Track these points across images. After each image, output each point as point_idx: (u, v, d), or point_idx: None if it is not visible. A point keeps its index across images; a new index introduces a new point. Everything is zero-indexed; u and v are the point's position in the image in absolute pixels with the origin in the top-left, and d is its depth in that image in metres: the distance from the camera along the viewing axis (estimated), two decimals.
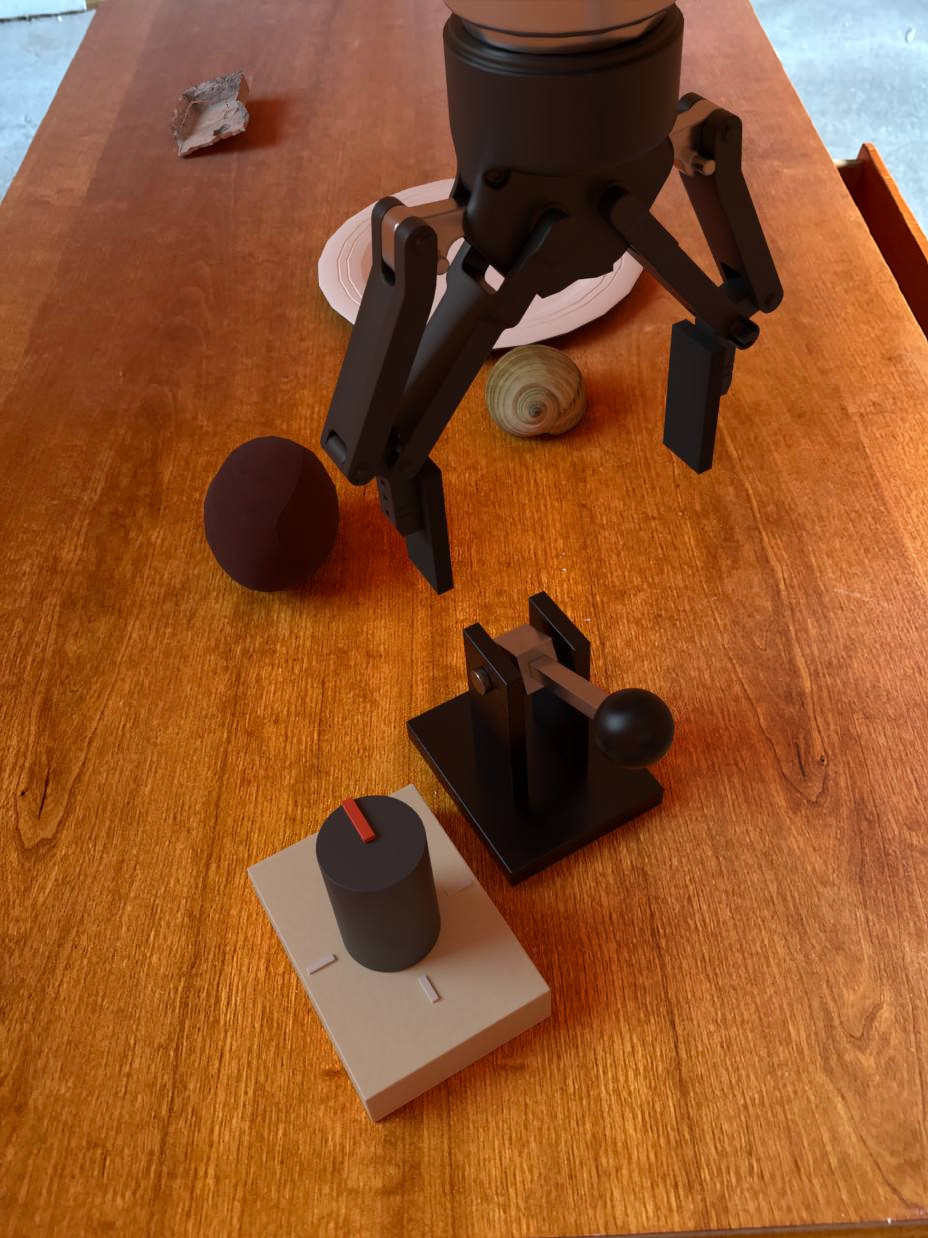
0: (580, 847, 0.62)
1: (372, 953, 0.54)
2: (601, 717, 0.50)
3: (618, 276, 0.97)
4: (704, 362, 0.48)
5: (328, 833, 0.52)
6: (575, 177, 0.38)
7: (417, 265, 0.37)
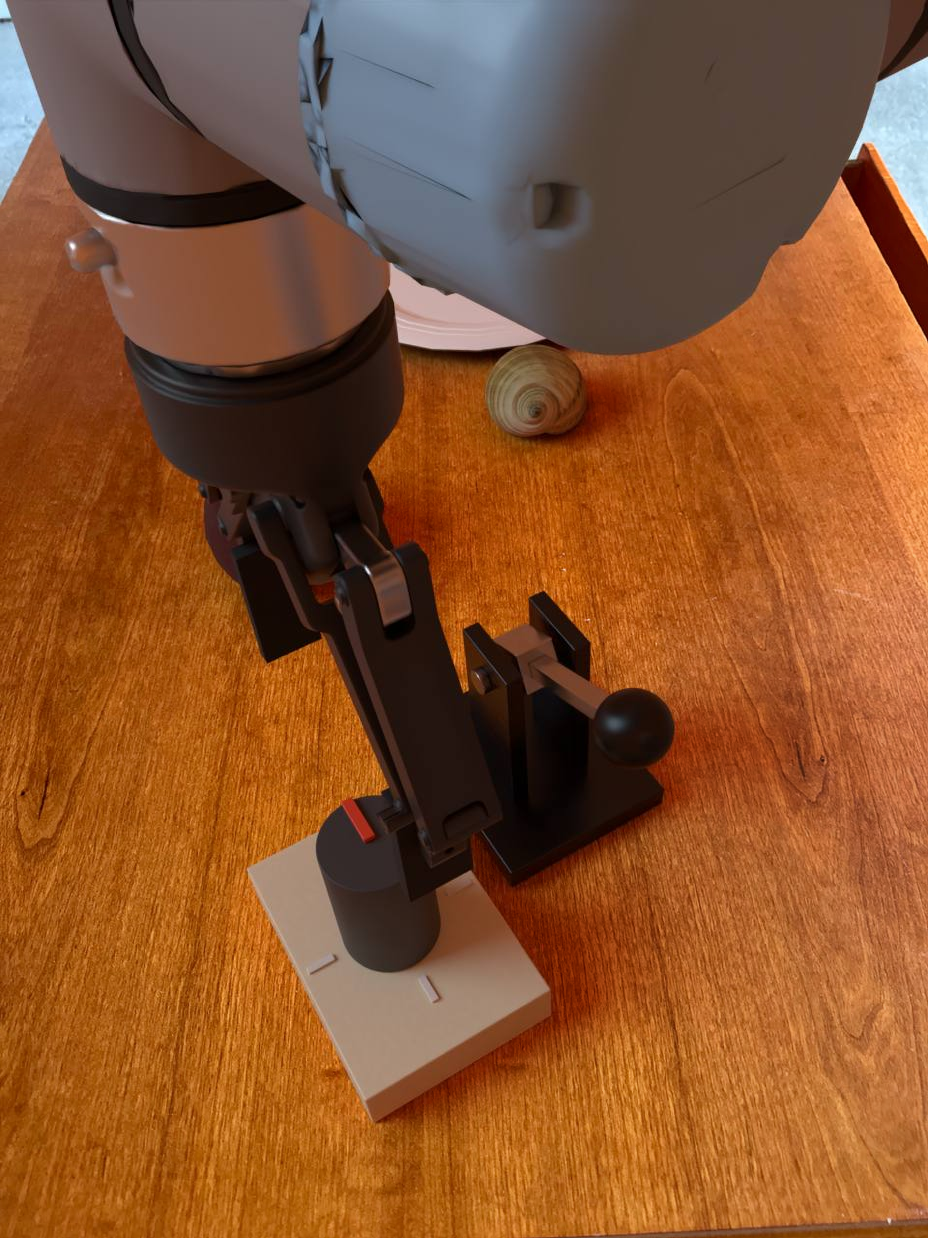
0: (580, 847, 0.62)
1: (372, 953, 0.54)
2: (601, 717, 0.50)
3: None
4: None
5: (328, 833, 0.52)
6: None
7: None
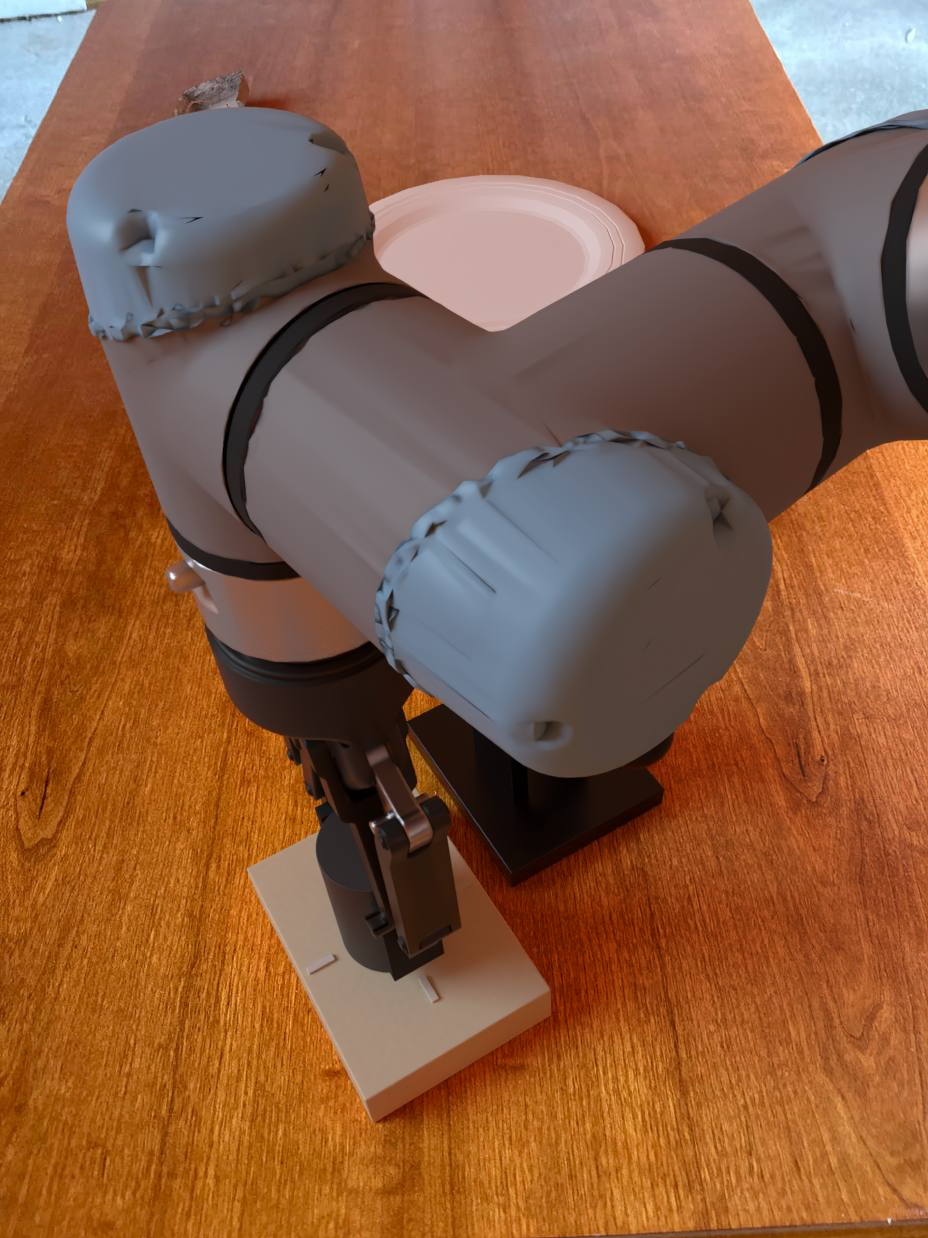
0: (580, 847, 0.62)
1: (372, 953, 0.54)
2: None
3: None
4: None
5: (328, 833, 0.52)
6: None
7: None
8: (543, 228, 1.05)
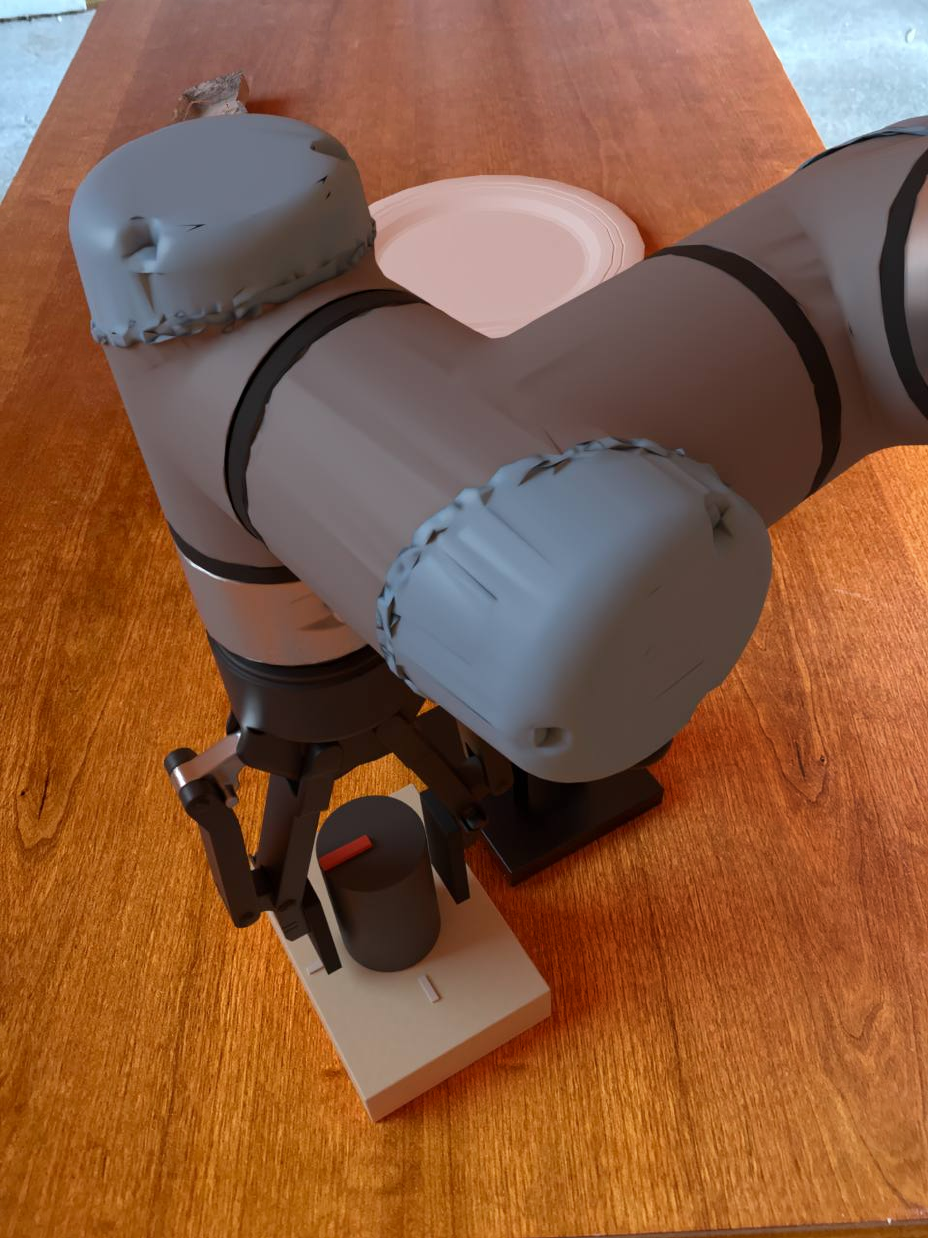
0: (580, 847, 0.62)
1: (435, 915, 0.55)
2: None
3: None
4: None
5: (356, 881, 0.50)
6: None
7: None
8: (543, 228, 1.05)
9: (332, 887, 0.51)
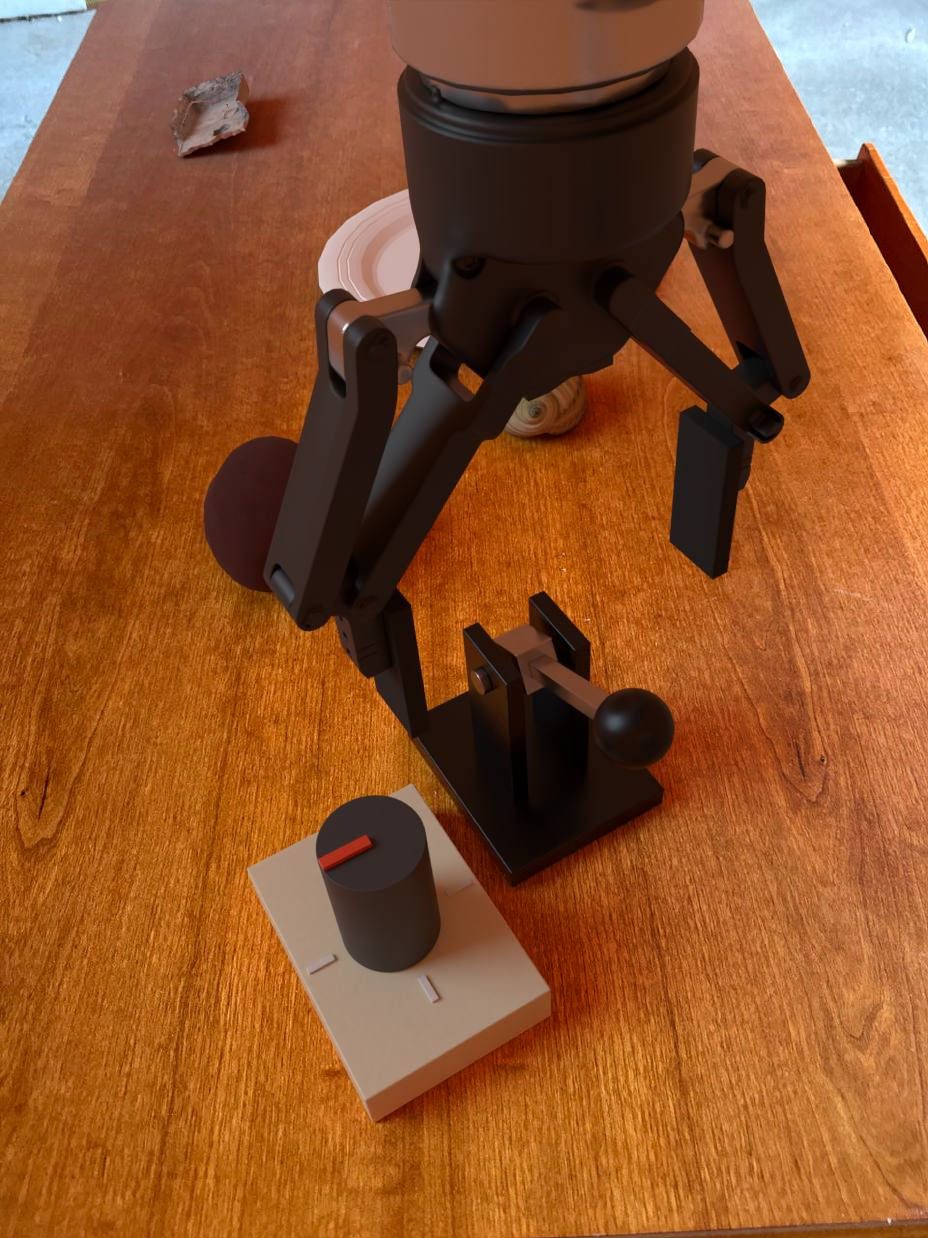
0: (580, 847, 0.62)
1: (435, 915, 0.55)
2: (601, 717, 0.50)
3: None
4: None
5: (356, 881, 0.50)
6: None
7: None
8: None
9: (332, 887, 0.51)
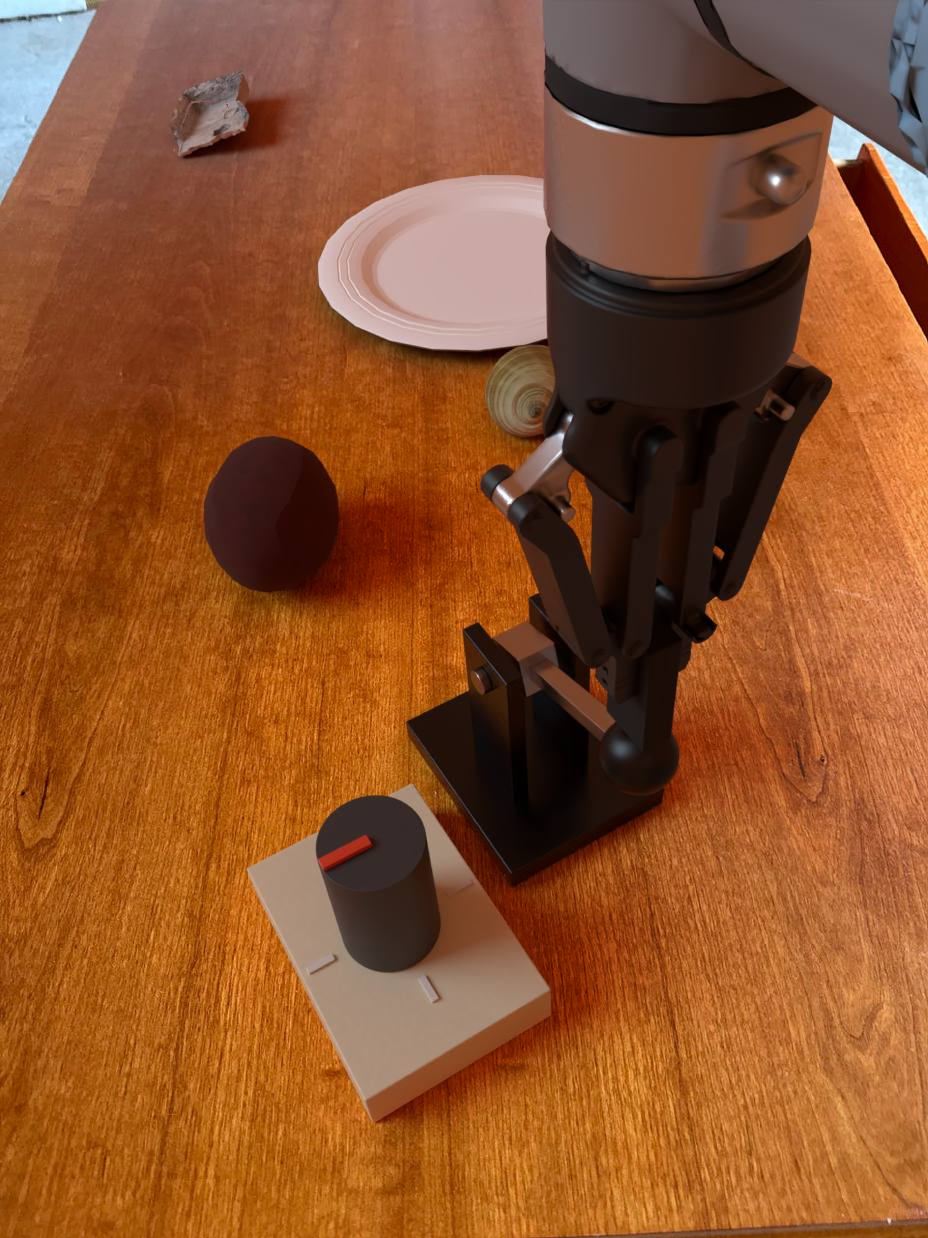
0: (580, 847, 0.62)
1: (435, 915, 0.55)
2: (609, 745, 0.50)
3: None
4: None
5: (356, 881, 0.50)
6: None
7: None
8: (543, 228, 1.05)
9: (332, 887, 0.51)
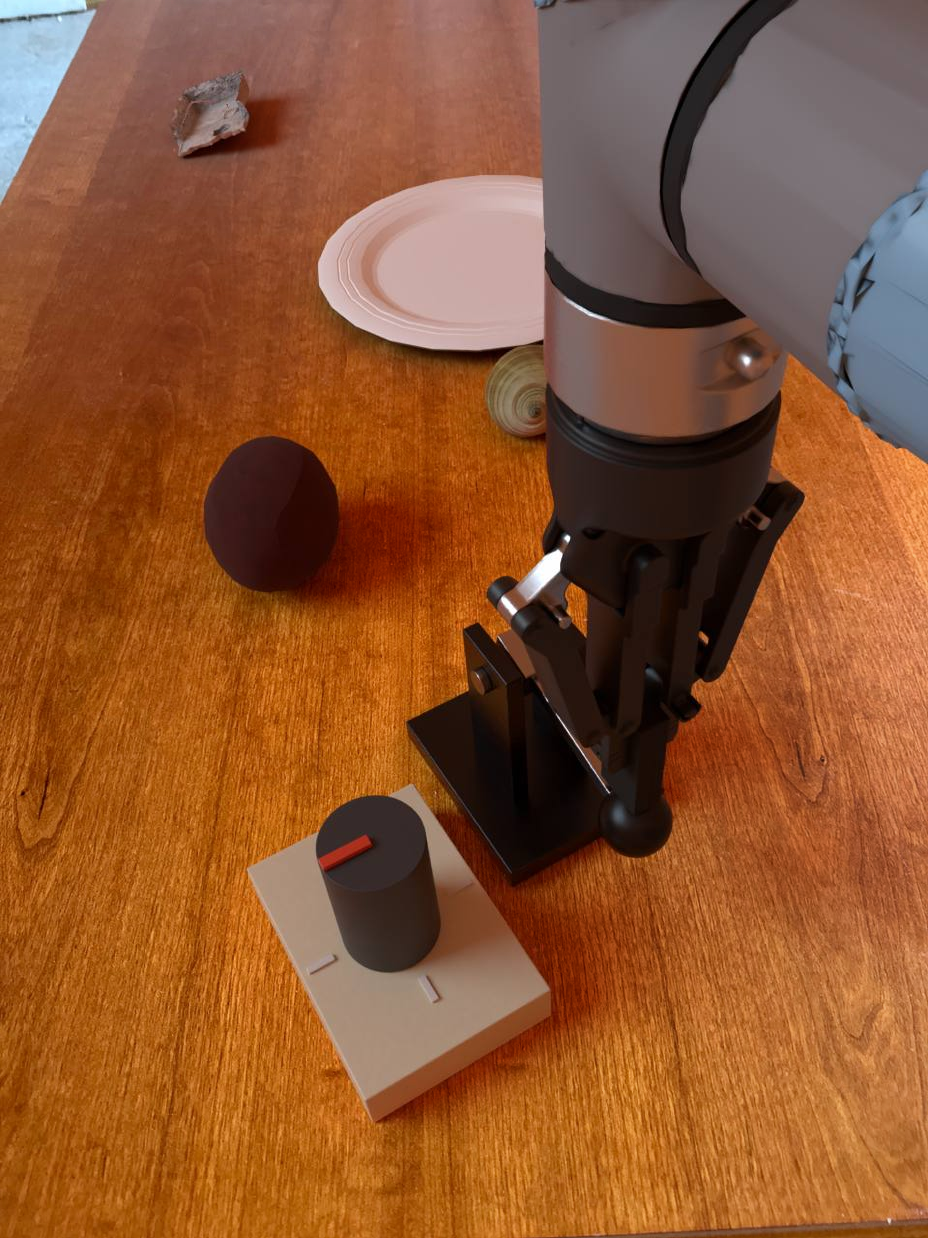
0: (580, 847, 0.62)
1: (435, 915, 0.55)
2: (615, 822, 0.54)
3: None
4: None
5: (356, 881, 0.50)
6: None
7: None
8: (543, 228, 1.05)
9: (332, 887, 0.51)
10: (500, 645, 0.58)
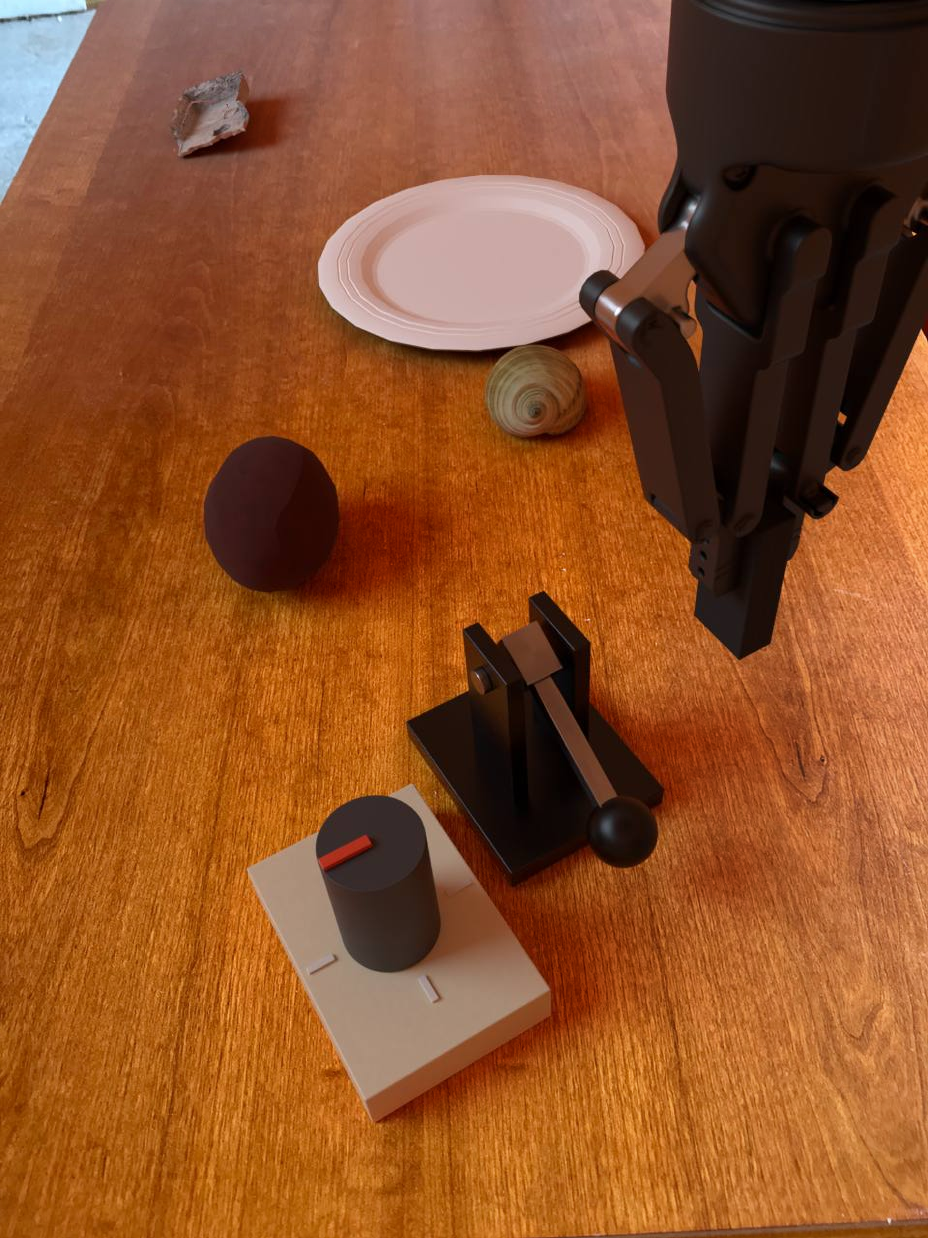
0: (580, 847, 0.62)
1: (435, 915, 0.55)
2: (606, 839, 0.56)
3: (618, 276, 0.97)
4: None
5: (356, 881, 0.50)
6: None
7: None
8: (543, 228, 1.05)
9: (332, 887, 0.51)
10: (503, 647, 0.58)
